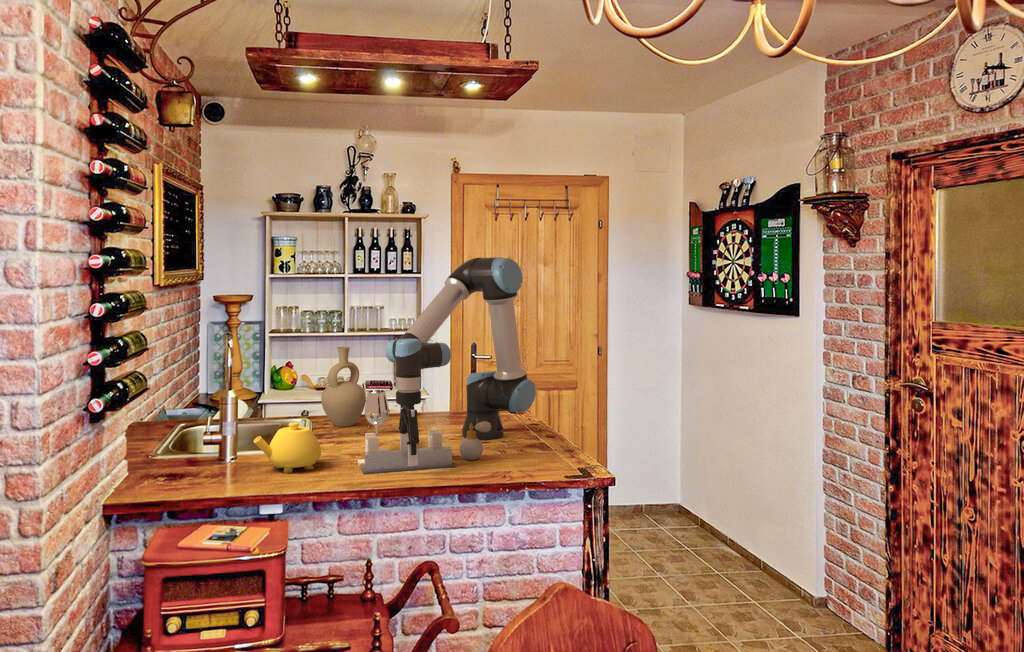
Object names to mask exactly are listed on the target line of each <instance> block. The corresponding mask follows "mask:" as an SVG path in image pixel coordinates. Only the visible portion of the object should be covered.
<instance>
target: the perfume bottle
mask: <svg viewBox="0 0 1024 652" xmlns="http://www.w3.org/2000/svg"><path fill="white" fill-rule="evenodd" d="M472 425H473V424H472V423H471V424H470V426H469V429H470V430H469V431H467V437H466V438H465V437H464V439H463V440H462V441H461V442H460V444H459V453H460V456H461V457H462V458H463V459H465V460H467V461H476V460H478V459H480V457H481V456H482V454H483V451H484V445H483V443H482V440H480V439H478V438H477V437H476V431H473V428H475V429H476V430H477V431H480V432H488V431H490V429H491V424H490V423H489V422H486V421H483V422H480V423H478V424H476V425H475V426H474V427H473V426H472Z"/></svg>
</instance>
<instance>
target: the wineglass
mask: <svg viewBox="0 0 1024 652" xmlns="http://www.w3.org/2000/svg"><path fill="white" fill-rule="evenodd" d="M389 411H390V409H389V403H388V398H387V394H386V391H385V390H383V389H372V390H371V389H370V390H368V391H367V396H366V403H365V407H364V417H365V420H366V421H367V422H368V423H369V424H371V425H372V426H374V427H375V437H376V436H378V437H379V428H380V427H379V426H381V425H383V424H384V423H385V422H386V421H387V419H388V417H389V416H390V415H389V413H390V412H389ZM386 450H389V448H386V447H381V446H380V445H379V444H378V451H386Z"/></svg>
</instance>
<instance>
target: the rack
mask: <svg viewBox="0 0 1024 652" xmlns="http://www.w3.org/2000/svg"><path fill="white" fill-rule="evenodd" d="M427 431H428V433H427V434H428V441H427V443H428V445H427V448H431V447H443V433H442V432H439V429H438V428H432V429H428V430H427ZM364 436H365V437H364V438H365V439H364V441H365V443H364V445H365V449H364V450H365V451H364V452H372V451H378V445H379V435H378V436H376V432H367V433H365V435H364ZM357 465H358V466H359V467H360V468H363V467H365V459H364V458H362V459H357Z"/></svg>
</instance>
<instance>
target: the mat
mask: <svg viewBox="0 0 1024 652" xmlns="http://www.w3.org/2000/svg"><path fill="white" fill-rule="evenodd" d="M448 468H449V469H452V468H457V465H456V464H455V463H454V462H453V461H452V465H445V466H432V467H419V468H405V469H392V470H379V471H366V470H365V466H364V467H360V470H361V472H362V474H363V475H373V474H386V473H400V472H411V471H424V470H436V469H437V470H438V469H448Z"/></svg>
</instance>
